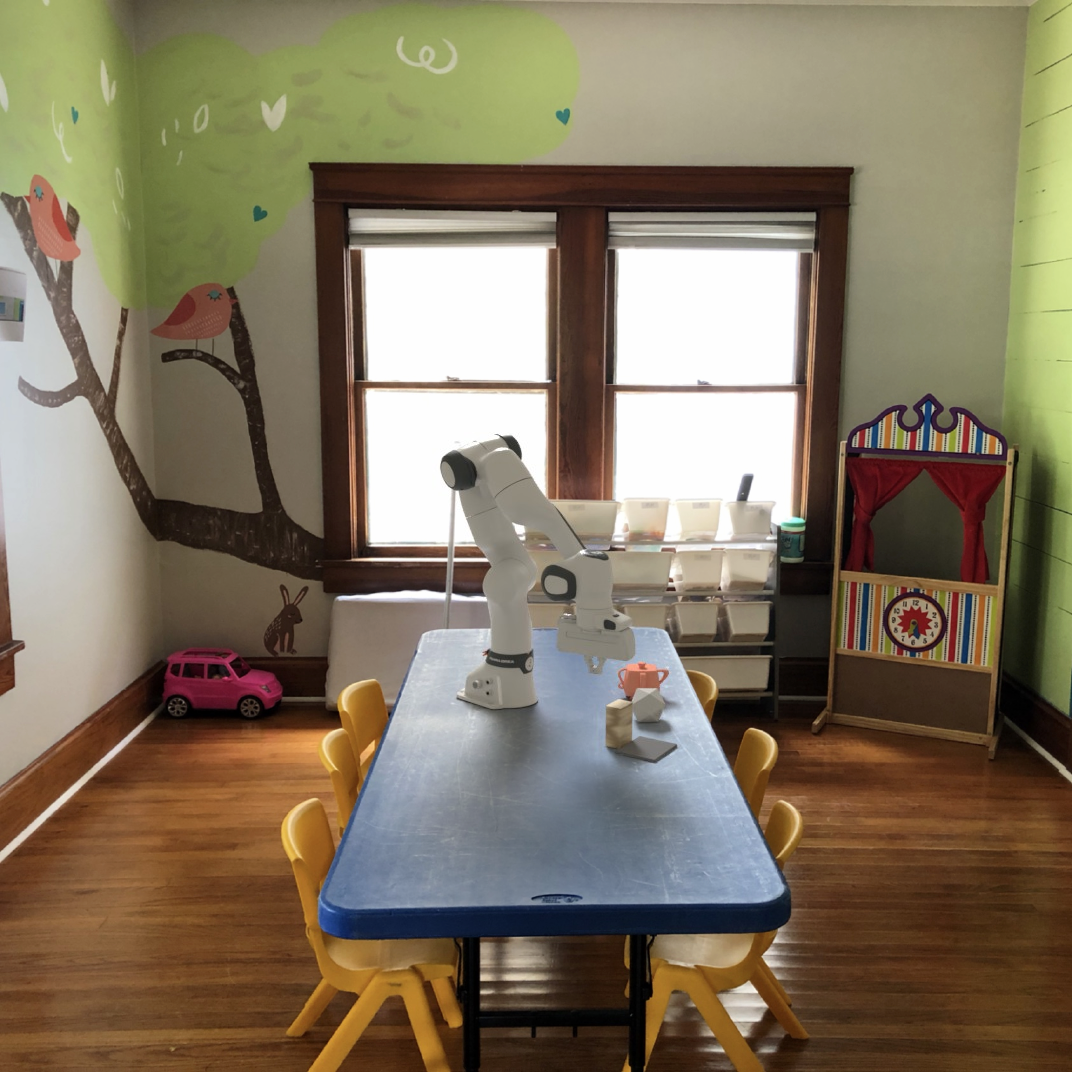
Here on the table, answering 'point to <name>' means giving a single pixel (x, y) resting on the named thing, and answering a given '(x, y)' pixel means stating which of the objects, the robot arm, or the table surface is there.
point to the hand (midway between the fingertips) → (595, 673)
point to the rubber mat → (646, 749)
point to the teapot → (640, 677)
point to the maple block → (619, 723)
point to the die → (648, 704)
